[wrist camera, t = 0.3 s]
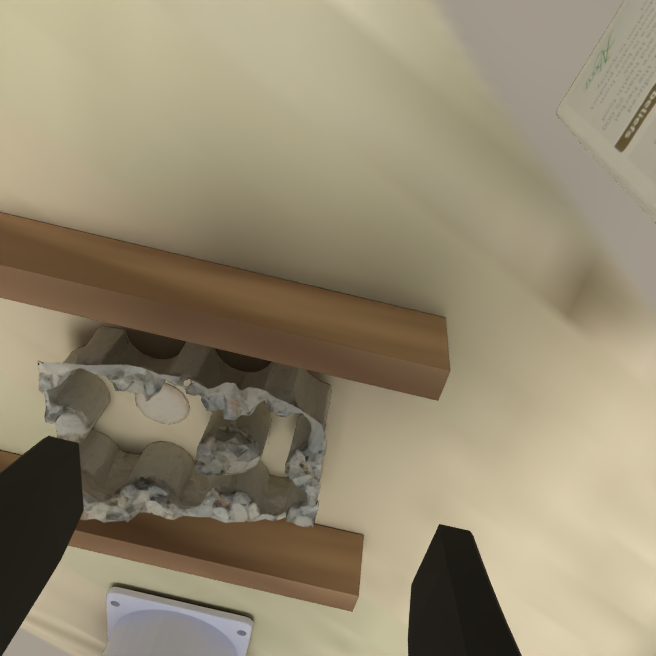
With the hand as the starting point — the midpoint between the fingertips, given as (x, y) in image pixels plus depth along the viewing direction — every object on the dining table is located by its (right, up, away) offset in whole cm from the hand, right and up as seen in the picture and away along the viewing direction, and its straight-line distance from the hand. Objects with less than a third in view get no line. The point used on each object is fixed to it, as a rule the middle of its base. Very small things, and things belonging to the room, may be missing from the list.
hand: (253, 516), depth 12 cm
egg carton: (-3, +1, +12) cm, 13 cm away
